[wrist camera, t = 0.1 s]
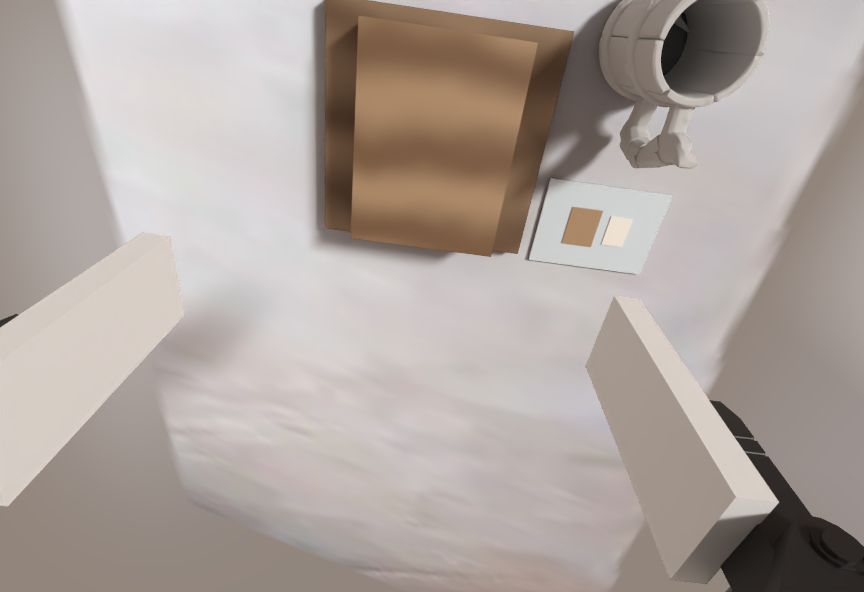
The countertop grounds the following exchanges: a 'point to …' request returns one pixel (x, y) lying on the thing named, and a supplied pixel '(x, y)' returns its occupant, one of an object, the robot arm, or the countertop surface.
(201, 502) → the countertop surface
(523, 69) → the plinth
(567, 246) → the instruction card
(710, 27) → the mug
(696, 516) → the robot arm
